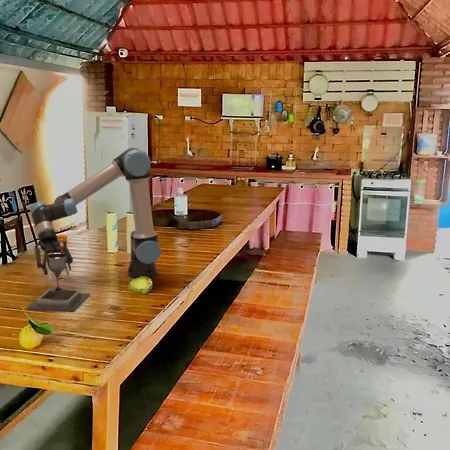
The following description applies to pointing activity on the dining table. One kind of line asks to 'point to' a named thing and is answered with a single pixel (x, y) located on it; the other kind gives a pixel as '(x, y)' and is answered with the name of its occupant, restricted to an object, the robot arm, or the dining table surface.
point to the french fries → (62, 240)
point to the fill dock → (59, 301)
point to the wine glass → (57, 268)
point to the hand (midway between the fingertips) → (60, 278)
